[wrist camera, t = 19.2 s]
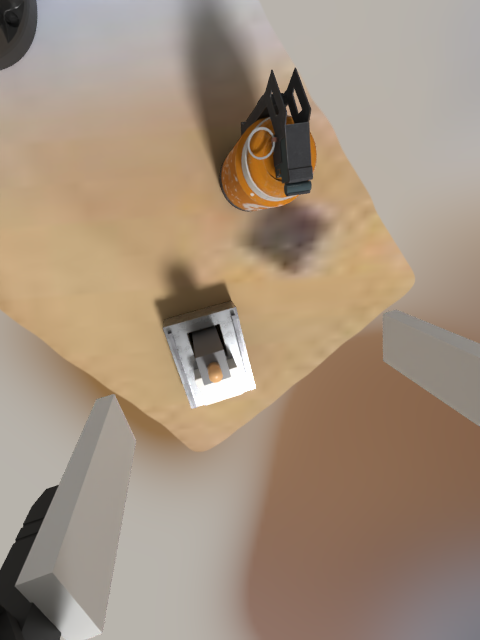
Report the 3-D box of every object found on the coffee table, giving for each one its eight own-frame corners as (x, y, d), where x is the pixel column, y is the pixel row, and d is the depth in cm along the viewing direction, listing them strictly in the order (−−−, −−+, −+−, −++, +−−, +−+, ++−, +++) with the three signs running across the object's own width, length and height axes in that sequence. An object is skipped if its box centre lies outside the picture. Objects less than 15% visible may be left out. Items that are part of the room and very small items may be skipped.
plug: (191, 327, 49) (196, 366, 35) (213, 321, 49) (226, 357, 36) (198, 350, 50) (205, 395, 37) (219, 343, 51) (234, 386, 37)
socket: (163, 319, 47) (162, 329, 43) (231, 300, 48) (236, 308, 44) (190, 395, 53) (191, 411, 48) (250, 376, 54) (256, 390, 50)
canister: (224, 215, 44) (258, 209, 25) (211, 134, 40) (240, 56, 21) (278, 206, 45) (348, 194, 27) (270, 127, 41) (346, 48, 23)
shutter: (193, 370, 47) (194, 380, 44) (233, 357, 48) (237, 366, 45) (204, 403, 49) (206, 415, 46) (242, 391, 50) (246, 401, 47)
